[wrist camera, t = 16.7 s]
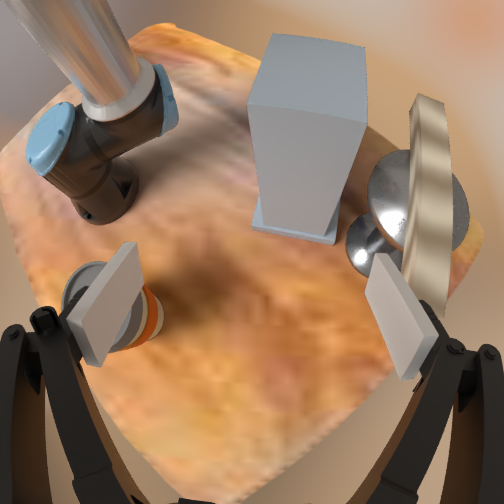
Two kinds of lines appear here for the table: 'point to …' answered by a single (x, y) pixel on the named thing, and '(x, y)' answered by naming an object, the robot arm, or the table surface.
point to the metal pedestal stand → (394, 214)
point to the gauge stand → (306, 133)
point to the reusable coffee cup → (138, 318)
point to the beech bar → (429, 205)
